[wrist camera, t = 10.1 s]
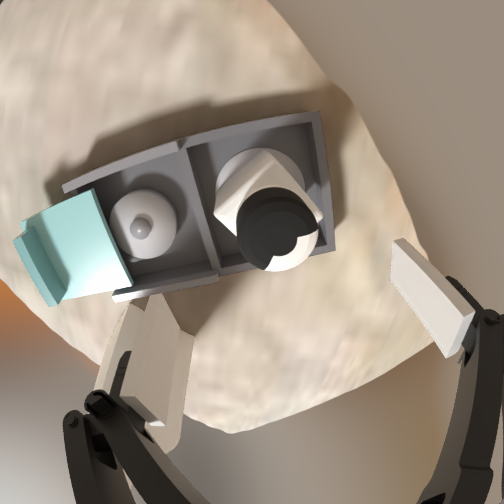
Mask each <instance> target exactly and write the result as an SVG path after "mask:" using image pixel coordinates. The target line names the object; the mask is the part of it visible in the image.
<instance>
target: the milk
mask: <svg viewBox="0 0 504 504" xmlns="http://www.w3.org/2000/svg"><path fill="white" fill-rule="evenodd" d="M143 314H144V310H142V309H140V308H138V307H137V306H135V305H133V304H131V303H129V305H128V307H127V309H126V310H125V312H124V314H123V316H122V318H121V319H120V321H119V323H118V325H117V327H116V329H115V330H114V332H113V334H112V336H111V338H110V340H109V342H108V344H107V347H106V350H105V353H104V357H103V360H102V363H101V366H100V370H99V373H98V377H97V380H96V384H95V387H94V390H98V389H101V390H104V391H105V392H106V393H107V394H108V395H109V393H110V389H111V386H112V383H113V379H114V376H115V372H116V369H117V366H118V363H119V360H120V358H121V357H122V355H123V354H124V352H125V351H132V349H133V346H134V342H135V339H136V336H137V333H138V330H139V327H140V323H141V320H142V317H143ZM194 337H195V336H192V335H190V334H188V333H186V332H184V331H182V330H180V331H179V336H178V343H177V349H176V355H175V361H174V368H173V375H172V382H171V389H170V397H169V405H168V413H167V422H166V426H151V425H150V424H149V423H147V422H146V421H145V428H146V429H147V430H148V432H149V433H150V434H151V436H152V437H153V438H154V440H155V441H156V442H157V444H158V445H159V446H160V448H161V449H162V450H163V452H164V453H165V454H166V453H168V452H169V451H171V450H172V449H174V448H175V447H176V445H177V444H178V442H179V439H180V434H181V425H182V418H183V410H184V403H185V396H186V389H187V382H188V375H189V368H190V362H191V356H192V350H193V343H194ZM88 414H89V412H88ZM123 471H124V469H123ZM124 474H125V477H126V480H127V482H128V485H129V488H130V490H131V487H132V482H131V480H130V479H129V477H128V476H127V474H126V473H125V471H124Z"/></svg>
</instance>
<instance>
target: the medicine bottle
mask: <svg viewBox="0 0 504 504" xmlns="http://www.w3.org/2000/svg"><path fill="white" fill-rule="evenodd" d="M214 215H215V217H216V218H217V219H218V220H219V221H221V222H222V223H223V224H224V225H225V226H226V227H227V228H228V229H229V230H230V231H231V232H232V233H233V234H235V235H236V236H237V244H238V247H239V250H240V252H241V254H242V255H243V257H244V258H245V259H246V260H247V261H248V262H249V263H250V264H252V265H253V266H255V267H257V268H259V269H262V270H266V271H283V270H287V269H290V268H293V267H295V266H297V265H298V264H300V263H301V262H303V261H304V260H305V259H306V258H307V257H308V256H309V255H310V254H311V252H312V251H313V249H314V247H315V245H316V242H317V238H318V225H317V223H318V222H319V221H320V220H321V219H322V218H323V213H322V212H321V211H320V210H319V208H318V207H317V206H316V205H315V204H314V202H313V201H312V200H311V199H310V197H309V196H308V195H307V194H306V193H305V192H304V190H303V189H302V188H301V187H300V186H299V185H298V183H297V182H296V181H295V180H294V179H293V178H292V176H291V175H290V174H289V173H288V172H287V171H286V170H285V168H284V167H283V166H282V165H281V164H280V163H279V162H278V161H277V160H276V159H275V158H274V157H273V156H272V155H271V154H270V152H269V151H268V150H266V149H263V150H262V151H261V152H259V153H258V154H257V155H256V156H255V157H254V158H253V159H251V160H250V161H249V162H248V163H247V164H246V165H245V166H244V167H243V168H241V169H240V170H239V171H238V172H237V173H236V174H235V175H234V176H233V177H232V178H230V179H229V180H228V181H227V182H226V183H225V184H224V185H223V186H222V187H221V188H220V189H219V190H218V191H217V195H216V202H215V208H214Z"/></svg>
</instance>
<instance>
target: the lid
mask: <svg viewBox="0 0 504 504" xmlns="http://www.w3.org/2000/svg"><path fill="white" fill-rule="evenodd" d="M20 225H21V227H22V229H23V232H22V233H21V234H20V235H19V236H18V237H16V238H15V239H14V240H13V243H14V245H15V247H16V249H17V251H18V253H19V255H20V257H21V259H22V261H23V263H24V265H25V267H26V269H27V271H28V273H29V275H30V276H31V278H32V280H33V282H34V283H35V285H36V287H37V289H38V290H39V292H40V294H41V295H42V297H43V299H44V300H45V302H46V303H47V305H48V307H50V306H56V305H58V304H59V303H60V301H61V300H66V299H71V298H76V297H81V296H86V295H91V294H95V293H100V292H105V291H110V290H115V289H120V288H125V287H130V286H132V285H133V283H134V282H133V280H132V278H131V276H130V274H129V272H128V269H127V267H126V265H125V263H124V261H123V259H122V257H121V254H120V252H119V250H118V248H117V246H116V243H115V241H114V239H113V236H112V234H111V232H110V229H109V227H108V224H107V222H106V219H105V217H104V214H103V212H102V209H101V207H100V204H99V201H98V199H97V196H96V193H95V190H94V188H92V189H90V190H87V191H85V192H82V193H80V194H78V195H75V196H73V197H71V198H69V199H66V200H64V201H62V202H60V203H58V204H55V205H53V206H51V207H49V208H47V209H45V210H43V211H41V212H39V213H37V214H35V215H33V216H31V217H29V218H27V219H25V220H23V221H22V222H21V223H20Z"/></svg>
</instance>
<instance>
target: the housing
mask: <svg viewBox="0 0 504 504" xmlns="http://www.w3.org/2000/svg"><path fill="white" fill-rule="evenodd" d="M263 149H266V150H268V151H269V152H270V154H271V155H272V156H273V157H274V158H275V159H276V160H277V161H278V162H279V163H280V164H281V165H282V166H283V167H284V168H285V170H286V171H287V172H288V173H289V174H290V175H291V176H292V178H293V179H294V180H295V181H296V182H297V183H298V185H299V186H300V187H301V188H302V189H303V190H304V192H305V193H306V194H307V195H308V196H309V197H310V199H311V200H312V201H313V202H314V204H315V205H316V206H317V207H318V208H319V210H320V211H321V212H322V213H323V218H322V219H321V220H320V221H319V222H318V223H317V225H318V238H317V242H316V245H315V247H314V249H313V251H312V252H311V254H310V255H309V256H308V257H310V256H314V255H319V254H323V253H327V252H332V251H336V249H335V233H334V220H333V208H332V198H331V188H330V179H329V171H328V163H327V155H326V148H325V141H324V135H323V128H322V122H321V116H320V111H306V112H299V113H292V114H285V115H279V116H273V117H267V118H262V119H256V120H251V121H246V122H241V123H237V124H232V125H228V126H224V127H219V128H215V129H211V130H207V131H203V132H200V133H196V134H192V135H189V136H185V137H182V138H178V139H175V140H172V141H169V142H165V143H162V144H159V145H156V146H153V147H150V148H147V149H144V150H141V151H139V152H136V153H133V154H130V155H128V156H125V157H122V158H120V159H117V160H115V161H112V162H110V163H107V164H105V165H102V166H100V167H97V168H95V169H93V170H90V171H88V172H86V173H84V174H81V175H79V176H78V177H76V178H74V179H72V180H70V181H69V182H67V183H65V184H63V185H62V188H63V191H64V194H65V193H67V192H69V191H70V193H71V196H72V197H73V196H75V195H78V194H80V193H82V192H85V191H87V190H90V189H92V188H94V190H95V193H96V196H97V199H98V201H99V204H100V207H101V209H102V212H103V214H104V217H105V219H106V222H107V224H108V227H109V229H110V232H111V234H112V236H113V239H114V241H115V243H116V246H117V248H118V250H119V252H120V254H121V257H122V259H123V261H124V263H125V265H126V267H127V269H128V272H129V274H130V276H131V278H132V280H133V282H134V283H133V285H132V286H130V287H125V288H120V289H115V291H114V293H113V295H112V297H113V299H114V301H115V302H120V301H125V300H130V299H136V298H141V297H147V296H150V295H154V294H160V293H167V292H173V291H178V290H183V289H188V288H193V287H198V286H203V285H208V284H213V283H217V282H219V276H223V275H228V274H232V273H237V272H242V271H246V270H251V269H256V268H257V267H255V266H253V265H252V264H250V263H249V262H248V261H247V260H246V259H245V258H244V257H243V255H242V254H241V252H240V250H239V247H238V244H237V236H236V235H235V234H233V233H232V232H231V231H230V230H229V229H228V228H227V227H226V226H225V225H224V224H223V223H222V222H221V221H219V220H218V219H217V218H216V217H215V215H214V208H215V202H216V195H217V191H218V190H219V189H220V188H221V187H222V186H223V185H224V184H225V183H226V182H227V181H228V180H229V179H230V178H232V177H233V176H234V175H235V174H236V173H237V172H238V171H239V170H240V169H241V168H243V167H244V166H245V165H246V164H247V163H248V162H249V161H250V160H251V159H253V158H254V157H255V156H256V155H257V154H258V153H259V152H261V151H262V150H263Z"/></svg>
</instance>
